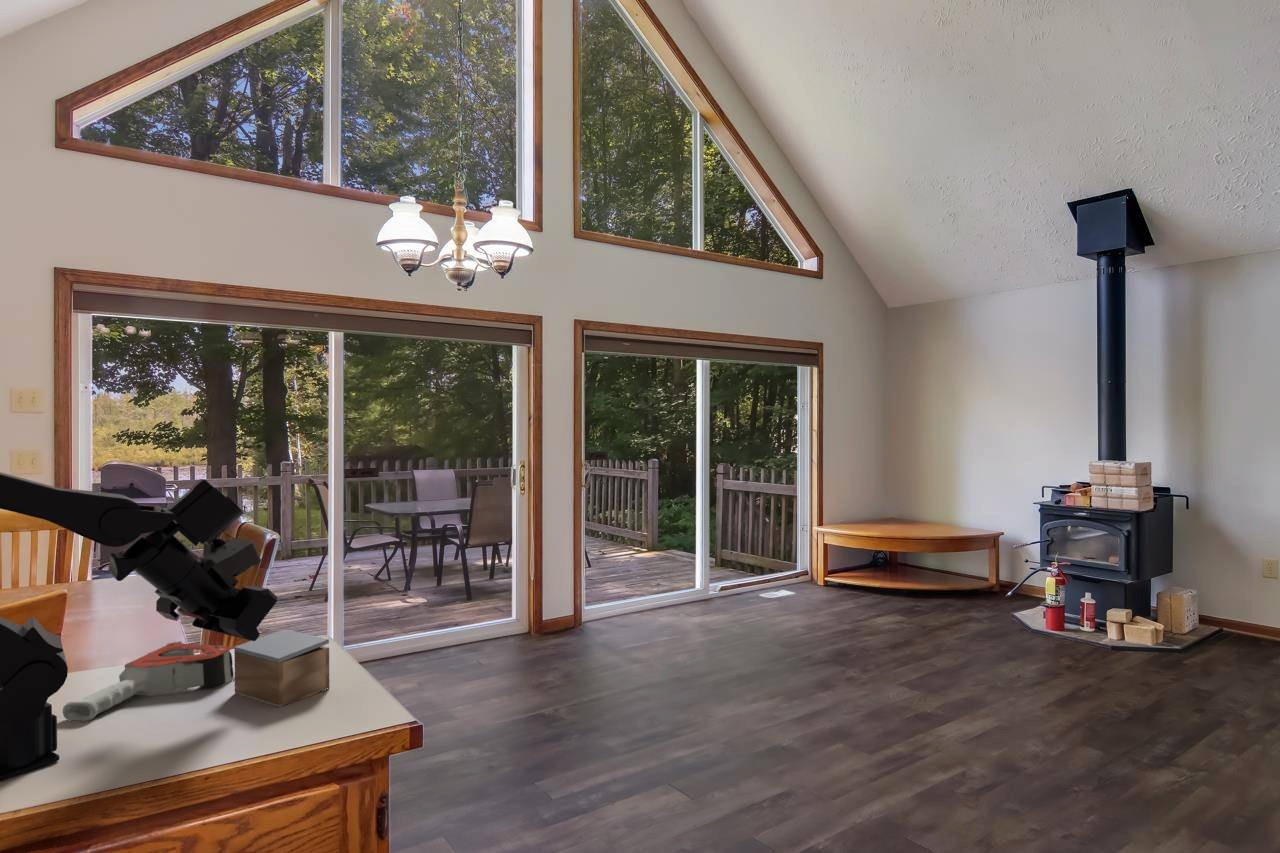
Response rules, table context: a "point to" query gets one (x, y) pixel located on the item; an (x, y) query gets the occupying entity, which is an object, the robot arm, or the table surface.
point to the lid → (281, 645)
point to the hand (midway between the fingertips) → (256, 637)
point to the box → (282, 676)
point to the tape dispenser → (160, 677)
